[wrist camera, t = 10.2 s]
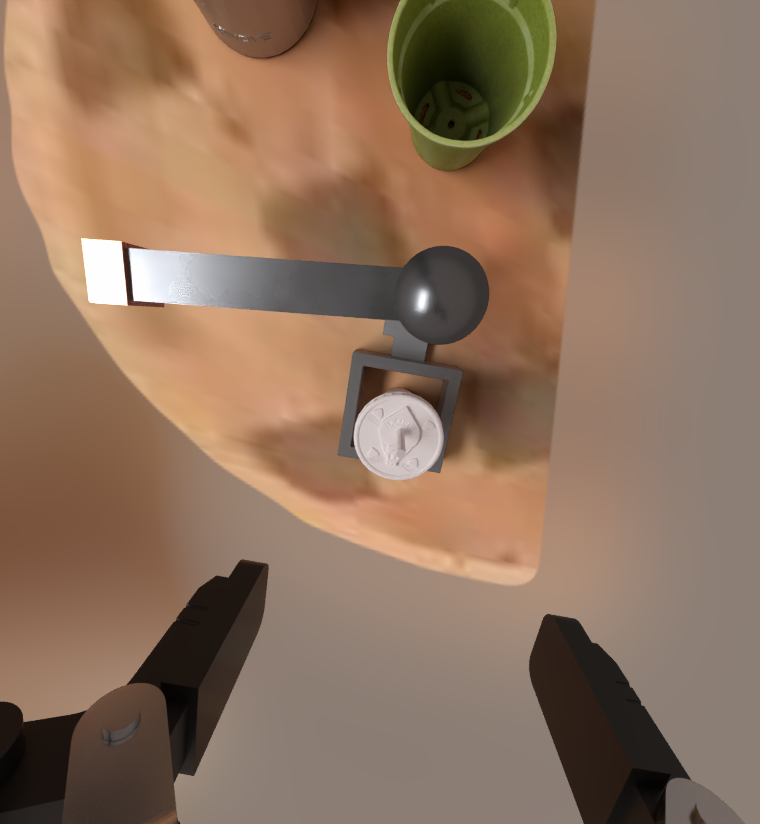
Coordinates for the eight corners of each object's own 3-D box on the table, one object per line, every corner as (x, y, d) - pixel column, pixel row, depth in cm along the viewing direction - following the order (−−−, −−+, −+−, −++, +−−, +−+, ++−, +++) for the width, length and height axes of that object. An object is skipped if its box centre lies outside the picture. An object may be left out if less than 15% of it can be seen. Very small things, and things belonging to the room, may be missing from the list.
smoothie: (439, 382, 34) (468, 424, 20) (421, 445, 35) (437, 523, 22) (373, 366, 34) (356, 397, 20) (358, 429, 35) (333, 498, 22)
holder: (368, 271, 32) (342, 226, 16) (474, 290, 32) (546, 262, 16) (342, 444, 36) (302, 536, 20) (436, 460, 36) (465, 565, 20)
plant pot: (477, 214, 30) (508, 173, 22) (372, 167, 30) (363, 107, 21) (531, 88, 28) (589, -12, 19) (418, 36, 27) (428, -89, 19)
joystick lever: (478, 262, 16) (496, 249, 13) (467, 343, 17) (481, 348, 14) (129, 237, 17) (72, 219, 14) (136, 317, 18) (84, 317, 15)
